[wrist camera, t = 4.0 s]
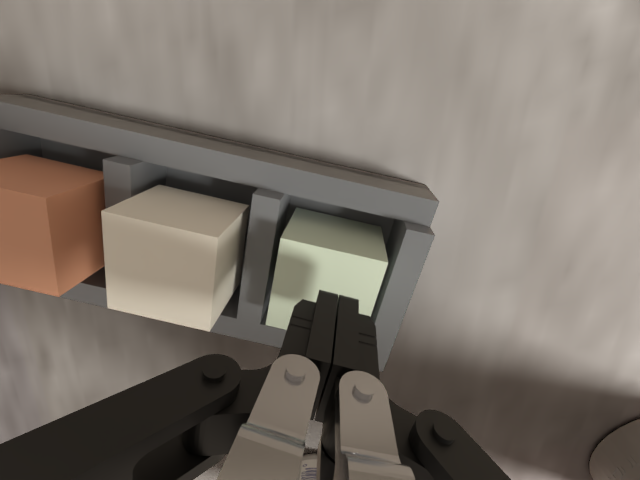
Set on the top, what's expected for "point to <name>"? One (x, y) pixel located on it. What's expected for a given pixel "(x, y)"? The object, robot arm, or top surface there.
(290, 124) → the top surface
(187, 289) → the middle key
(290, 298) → the sage key
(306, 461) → the energy drink
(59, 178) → the terracotta key
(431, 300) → the top surface
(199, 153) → the tray
